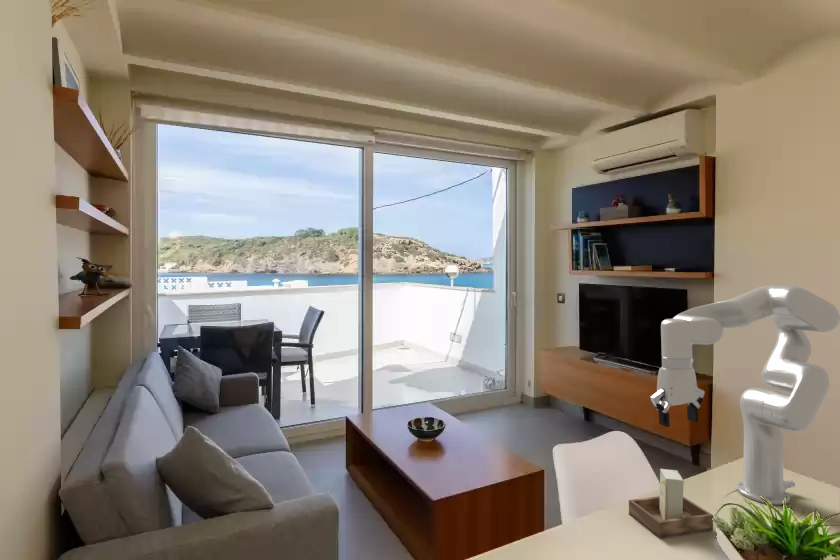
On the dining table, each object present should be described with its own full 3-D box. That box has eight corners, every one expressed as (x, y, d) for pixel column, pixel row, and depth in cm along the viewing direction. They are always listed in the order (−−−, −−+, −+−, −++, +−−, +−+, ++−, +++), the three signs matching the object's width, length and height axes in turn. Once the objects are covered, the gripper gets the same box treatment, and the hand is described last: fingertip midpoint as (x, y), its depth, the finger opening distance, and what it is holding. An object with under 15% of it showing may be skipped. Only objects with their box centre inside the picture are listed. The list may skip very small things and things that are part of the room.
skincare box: (658, 511, 125) (659, 468, 125) (676, 513, 124) (677, 469, 124) (664, 524, 119) (665, 478, 119) (683, 526, 118) (684, 480, 118)
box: (678, 507, 129) (678, 493, 129) (713, 530, 118) (713, 515, 117) (628, 514, 125) (628, 500, 125) (659, 538, 114) (659, 522, 114)
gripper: (691, 357, 134) (693, 415, 134) (641, 363, 129) (643, 422, 130) (713, 362, 126) (715, 423, 127) (661, 368, 122) (663, 431, 123)
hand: (678, 423), depth 128 cm, fingers open, 9 cm apart
